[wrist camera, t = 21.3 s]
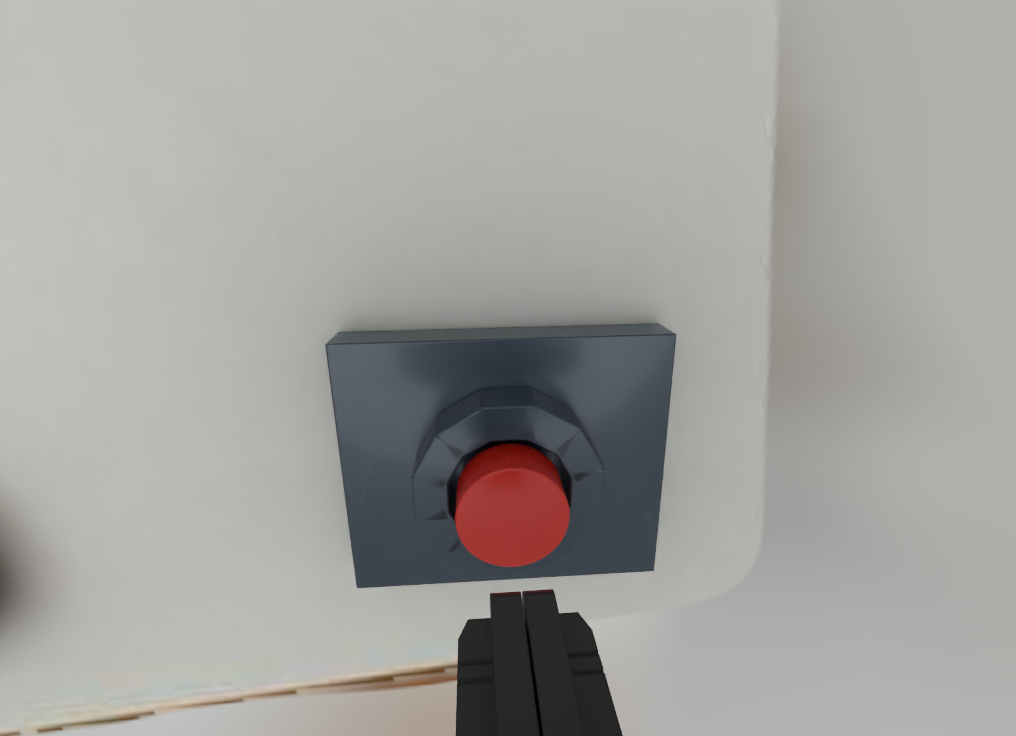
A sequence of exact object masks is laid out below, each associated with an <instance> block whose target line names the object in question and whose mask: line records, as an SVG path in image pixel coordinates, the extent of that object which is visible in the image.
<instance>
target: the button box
mask: <svg viewBox="0 0 1016 736" xmlns="http://www.w3.org/2000/svg"><path fill="white" fill-rule="evenodd" d="M675 341H676V334H675V333H673V332H672V331H670V330H668V329H667V328H665V327H664V326H662V325H660V324H624V325H588V326H551V327H515V328H478V329H442V330H405V331H368V332H339V333H337V334H336V335H335V336H334V337H333V338H332V339H331V340H330V341H329V342H328V343H327V344H326V353H327V361H328V368H329V376H330V384H331V392H332V399H333V407H334V415H335V423H336V430H337V438H338V446H339V453H340V461H341V469H342V477H343V484H344V492H345V500H346V508H347V515H348V523H349V531H350V539H351V546H352V554H353V562H354V570H355V577H356V585H357V588H367V587H384V586H402V585H419V584H436V583H453V582H471V581H488V580H505V579H522V578H540V577H557V576H574V575H591V574H608V573H626V572H643V571H654V563H655V553H656V542H657V532H658V521H659V511H660V500H661V489H662V479H663V468H664V458H665V447H666V436H667V426H668V415H669V405H670V394H671V383H672V373H673V362H674V352H675ZM501 444H521V445H525V446H529V447H532V448H534V449H536V450H538V451H540V452H542V453H543V454H544V455H546V456H547V457H548V458H549V459H550V460H551V461H552V463H553V464H554V465H555V467H556V469H557V471H558V473H559V476H560V479H561V482H562V485H563V488H564V491H565V494H566V497H567V500H568V504H569V509H570V519H569V525H568V529H567V531H566V533H565V536H564V537H563V539H562V541H561V542H560V544H559V545H558V546H557V547H556V548H555V549H554V550H553V551H552V552H551V553H550V554H548V555H547V556H545V557H544V558H542V559H540V560H538V561H536V562H534V563H531V564H528V565H524V566H517V567H502V566H496V565H492V564H489V563H486V562H484V561H482V560H480V559H478V558H477V557H475V556H474V555H473V554H472V553H470V552H469V551H468V550H467V548H466V547H465V546H464V545H463V543H462V542H461V540H460V538H459V536H458V533H457V530H456V525H455V510H456V492H457V483H458V480H459V477H460V474H461V472H462V470H463V469H464V467H465V466H466V464H467V463H468V462H469V461H470V460H471V459H472V458H473V457H474V456H476V455H477V454H479V453H480V452H482V451H483V450H486V449H488V448H490V447H493V446H496V445H501Z"/></svg>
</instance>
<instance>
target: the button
mask: <svg viewBox="0 0 1016 736" xmlns="http://www.w3.org/2000/svg"><path fill="white" fill-rule="evenodd" d="M569 519H570V509H569V504H568V500H567V497H566V494H565V491H564V488H563V485H562V482H561V479H560V476H559V473H558V471H557V469H556V467H555V465H554V464H553V463H552V461H551V460H550V459H549V458H548V457H547V456H546V455H544V454H543V453H542V452H540V451H538V450H536V449H534V448H532V447H529V446H525V445H521V444H501V445H496V446H493V447H490V448H488V449H486V450H483V451H482V452H480V453H479V454H477V455H476V456H474V457H473V458H472V459H471V460H470V461H469V462H468V463H467V464H466V466H465V467H464V469H463V470H462V472H461V474H460V477H459V480H458V483H457V492H456V510H455V525H456V530H457V533H458V536H459V538H460V540H461V542H462V543H463V545H464V546H465V547H466V548H467V550H468V551H469V552H470V553H472V554H473V555H474V556H475V557H477V558H478V559H480V560H482V561H484V562H486V563H489V564H492V565H496V566H502V567H517V566H524V565H528V564H531V563H534V562H536V561H538V560H540V559H542V558H544V557H545V556H547V555H548V554H550V553H551V552H552V551H553V550H554V549H555V548H556V547H557V546H558V545H559V544H560V542H561V541H562V539H563V537H564V536H565V533H566V531H567V529H568V525H569Z"/></svg>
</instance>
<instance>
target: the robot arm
mask: <svg viewBox="0 0 1016 736" xmlns="http://www.w3.org/2000/svg"><path fill="white" fill-rule="evenodd" d="M490 616H491V618H485V619H470V620H468V621H467V623H466V625H465V627H464V629H463V631H462V633H461V635H460V637H459V639H458V673H457V711H456V736H622V732H621V729H620V725H619V722H618V719H617V715H616V711H615V708H614V704H613V701H612V698H611V694H610V691H609V687H608V684H607V680H606V677H605V674H604V672H603V666H602V663H601V659H600V657H599V655H598V649H597V646H596V642H595V639H594V635H593V632H592V629H591V628H590V627H589V626H588V624H587V623H586V622H585V621H584V619H583V618H582V617H581V616H580V614H579V613H578V612H575V613H559V612H558V607H557V602H556V598H555V594H554V591H553V589H552V590H536V591H523V592H522V598H521V592H506V593H490Z"/></svg>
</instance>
